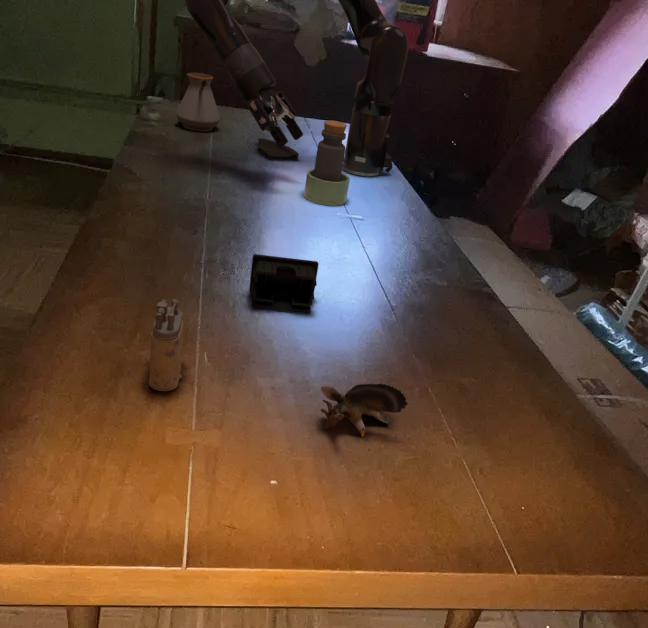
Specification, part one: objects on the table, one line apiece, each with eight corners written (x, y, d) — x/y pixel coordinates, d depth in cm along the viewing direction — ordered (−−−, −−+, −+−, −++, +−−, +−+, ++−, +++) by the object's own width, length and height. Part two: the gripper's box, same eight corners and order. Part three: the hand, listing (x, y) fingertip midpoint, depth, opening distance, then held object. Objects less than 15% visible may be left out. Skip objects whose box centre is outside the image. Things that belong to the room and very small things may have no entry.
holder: (335, 191, 164) (339, 169, 162) (352, 206, 157) (356, 183, 155) (297, 190, 161) (301, 167, 158) (313, 205, 154) (316, 182, 151)
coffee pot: (174, 119, 196) (177, 59, 188) (217, 123, 199) (222, 64, 191) (177, 141, 179) (180, 76, 171) (224, 146, 182) (229, 82, 174)
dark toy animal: (351, 449, 82) (415, 422, 86) (333, 389, 81) (399, 364, 84) (322, 444, 89) (382, 419, 92) (305, 388, 88) (367, 365, 91)
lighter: (155, 360, 94) (158, 290, 88) (185, 363, 94) (189, 293, 89) (146, 390, 88) (149, 317, 82) (178, 394, 88) (183, 321, 83)
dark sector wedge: (280, 145, 190) (281, 138, 189) (299, 161, 180) (300, 154, 179) (250, 143, 187) (250, 137, 186) (268, 160, 177) (268, 153, 176)
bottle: (309, 188, 161) (320, 117, 152) (335, 191, 161) (347, 121, 153) (312, 197, 156) (322, 124, 148) (338, 200, 157) (351, 128, 148)
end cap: (311, 294, 117) (317, 255, 114) (313, 314, 111) (320, 274, 108) (249, 287, 116) (253, 247, 112) (248, 307, 110) (252, 266, 106)
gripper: (247, 64, 144) (292, 137, 148) (276, 58, 156) (317, 126, 159) (221, 87, 148) (265, 157, 152) (251, 79, 160) (291, 145, 164)
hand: (292, 141), depth 156 cm, fingers open, 8 cm apart
